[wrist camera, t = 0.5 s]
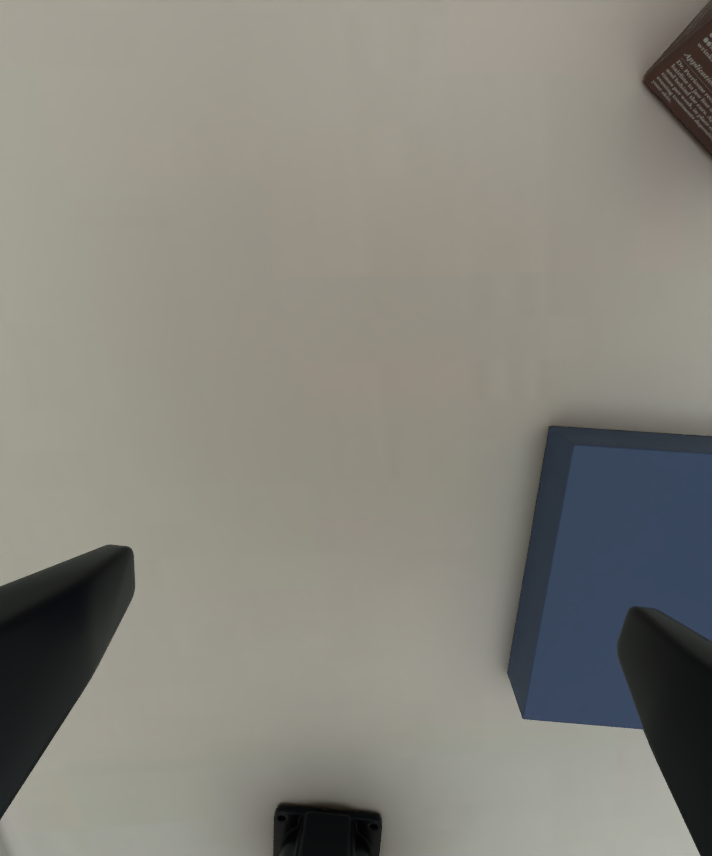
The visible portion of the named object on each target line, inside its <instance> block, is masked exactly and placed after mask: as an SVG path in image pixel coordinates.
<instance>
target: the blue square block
mask: <svg viewBox="0 0 712 856" xmlns="http://www.w3.org/2000/svg"><path fill="white" fill-rule="evenodd" d="M633 606H640V607H649V608H655V609H658V610H660V611H661V612H663V613H665V614H667V615H668V616H670V617H672V618H673V619H675V620H677V621H678V622H680V623H682V624H683V625H685V626H687V627H688V628H690V629H692V630H693V631H695V632H697V633H698V634H700V635H702V636H704V637H705V638H707V639H709V640H710V641H712V437H711V436H696V435H681V434H666V433H651V432H636V431H621V430H606V429H591V428H576V427H561V426H550V427H549V432H548V438H547V444H546V449H545V455H544V461H543V467H542V473H541V479H540V485H539V490H538V496H537V502H536V508H535V514H534V520H533V526H532V531H531V537H530V543H529V549H528V555H527V561H526V567H525V572H524V578H523V584H522V590H521V596H520V602H519V608H518V613H517V619H516V625H515V631H514V637H513V643H512V649H511V654H510V660H509V666H508V672H507V674H508V677H509V679H510V682H511V685H512V688H513V691H514V694H515V697H516V700H517V703H518V706H519V709H520V712H521V715H522V718H523V719H529V720H540V721H552V722H564V723H576V724H587V725H599V726H611V727H623V728H634V729H643V727H642V724H641V721H640V718H639V716H638V713H637V710H636V707H635V704H634V702H633V699H632V696H631V693H630V690H629V688H628V685H627V682H626V679H625V676H624V674H623V671H622V668H621V665H620V662H619V660H618V656H617V642H618V638H619V635H620V632H621V629H622V626H623V623H624V620H625V617H626V614H627V611H628V610H629V609H630V608H631V607H633Z"/></svg>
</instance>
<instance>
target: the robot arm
mask: <svg viewBox="0 0 712 856" xmlns="http://www.w3.org/2000/svg"><path fill="white" fill-rule="evenodd" d="M134 591H135V572H134V554H133V551H132V549H131V548H130V547H127V546H119V545H105V546H103V547H100V548H98V549H95V550H93V551H90V552H88V553H85V554H82V555H80V556H77V557H75V558H72V559H70V560H67V561H65V562H62V563H59V564H57V565H54V566H52V567H49V568H47V569H44V570H41V571H39V572H36V573H34V574H31V575H29V576H26V577H24V578H21V579H18V580H16V581H13V582H11V583H8V584H6V585H3V586H1V587H0V819H1V818H2V816H3V815H4V813H5V812H6V810H7V809H8V807H9V805H10V804H11V802H12V801H13V799H14V798H15V796H16V795H17V793H18V791H19V790H20V788H21V787H22V785H23V784H24V782H25V781H26V779H27V777H28V776H29V774H30V773H31V771H32V770H33V768H34V767H35V765H36V764H37V762H38V760H39V759H40V757H41V756H42V754H43V753H44V751H45V750H46V748H47V746H48V745H49V743H50V742H51V740H52V739H53V737H54V736H55V734H56V732H57V731H58V729H59V728H60V726H61V725H62V723H63V722H64V720H65V719H66V717H67V715H68V714H69V712H70V711H71V709H72V708H73V706H74V705H75V703H76V701H77V700H78V698H79V697H80V695H81V694H82V692H83V691H84V689H85V687H86V686H87V684H88V682H89V681H90V679H91V678H92V676H93V674H94V672H95V670H96V669H97V667H98V665H99V663H100V661H101V659H102V657H103V655H104V653H105V651H106V649H107V647H108V645H109V643H110V641H111V639H112V637H113V635H114V634H115V632H116V630H117V628H118V626H119V624H120V622H121V620H122V618H123V616H124V614H125V612H126V610H127V608H128V606H129V604H130V602H131V600H132V598H133V595H134ZM617 656H618V660H619V662H620V665H621V668H622V671H623V674H624V676H625V679H626V682H627V685H628V688H629V690H630V693H631V696H632V699H633V702H634V704H635V707H636V710H637V713H638V716H639V718H640V721H641V724H642V727H643V730H644V732H645V735H646V737H647V740H648V742H649V745H650V747H651V750H652V752H653V754H654V756H655V759H656V761H657V763H658V765H659V767H660V770H661V772H662V774H663V776H664V778H665V780H666V783H667V785H668V787H669V789H670V791H671V793H672V795H673V798H674V800H675V802H676V804H677V806H678V808H679V810H680V813H681V815H682V817H683V819H684V821H685V823H686V826H687V828H688V830H689V832H690V834H691V836H692V838H693V841H694V843H695V845H696V847H697V849H698V851H699V854H700V856H712V641H710V640H709V639H707V638H705V637H704V636H702V635H700V634H698V633H697V632H695V631H693V630H692V629H690V628H688V627H687V626H685V625H683V624H682V623H680V622H678V621H677V620H675V619H673V618H672V617H670V616H668V615H667V614H665V613H663V612H661V611H660V610H658V609H655V608H649V607H640V606H633V607H631V608H630V609H629V610H628V611H627V614H626V617H625V620H624V623H623V626H622V629H621V632H620V635H619V638H618V642H617ZM381 831H382V819H381V817H380V816H379V815H377V814H371V813H360V812H350V811H339V810H328V809H317V808H306V807H295V806H284V805H283V806H278V807H277V808H276V811H275V815H274V852H273V856H379V852H380V842H381Z"/></svg>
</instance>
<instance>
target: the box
mask: <svg viewBox="0 0 712 856" xmlns="http://www.w3.org/2000/svg"><path fill="white" fill-rule="evenodd" d="M644 82H645V83H646V84H647V85H648V86H649V87H650V88H651V89H652V90H653V91H654V92H655V93H656V94H657V96H658V97H659V98H660V99H661V100H662V101H663V102H664V103H665V104H666V105H667V106H668V107H669V109H670V110H671V111H672V112H673V113H674V114H675V115H676V116H677V117H678V118H679V119H680V120H681V122H682V123H683V124H684V125H685V126H686V127H687V128H688V129H689V130H690V131H691V132H692V133H693V134H694V136H695V137H696V138H697V139H698V140H699V141H700V142H701V143H702V144H703V145H704V146H705V147H706V149H707V150H708V151H709V152H710V153H711V154H712V0H710V1H709V3H708V4H707V5H706V6H705V7H704V8H703V9H702V10H701V12H700V13H699V14H698V15H697V16H696V17H695V18H694V19H693V21H692V22H691V23H690V24H689V25H688V26H687V27H686V28H685V30H684V31H683V32H682V33H681V34H680V35H679V37H678V38H677V39H676V40H675V41H674V42H673V43H672V44H671V45H670V47H669V48H668V49H667V50H666V51H665V52H664V53H663V55H662V56H661V57H660V58H659V59H658V60H657V61H656V62H655V63H654V65H653V66H652V67H651V68H650V69H649V70H648V71H647V73H646V74H645V76H644Z"/></svg>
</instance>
